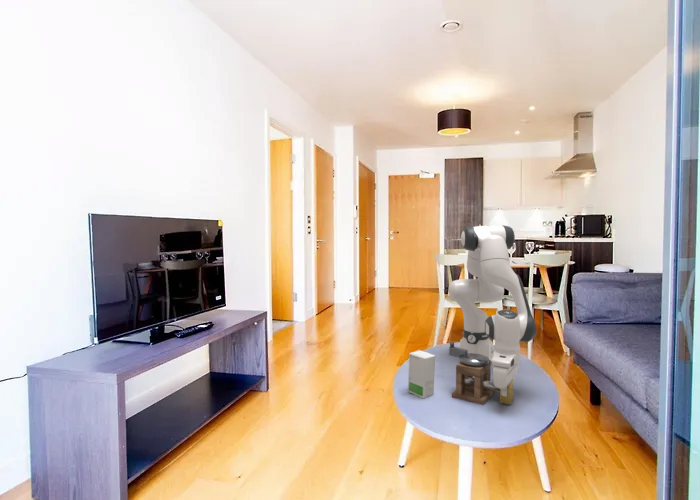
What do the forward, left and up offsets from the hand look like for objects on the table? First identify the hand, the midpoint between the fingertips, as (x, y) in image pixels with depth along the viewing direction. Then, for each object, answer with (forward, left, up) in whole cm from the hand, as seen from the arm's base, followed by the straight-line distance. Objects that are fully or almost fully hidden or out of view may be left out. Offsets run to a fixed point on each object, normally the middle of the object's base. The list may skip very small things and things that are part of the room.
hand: (506, 392), depth 147 cm
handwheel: (0, -14, +9) cm, 17 cm away
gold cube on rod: (0, -8, -3) cm, 9 cm away
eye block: (0, -12, -4) cm, 13 cm away
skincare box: (+10, -29, -4) cm, 31 cm away
